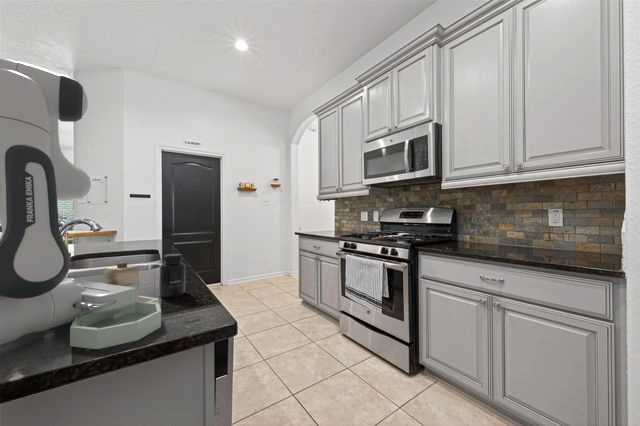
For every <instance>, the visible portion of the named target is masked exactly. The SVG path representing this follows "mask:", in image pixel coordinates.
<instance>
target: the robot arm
mask: <svg viewBox="0 0 640 426" xmlns="http://www.w3.org/2000/svg"><path fill="white" fill-rule="evenodd" d="M87 96H88V95H87V93H86V92H85V89H84V85H82V84H81V83H80V81H78V80H76V79H75V78H73V77H70V76H68V75H65V74H58V73H56V72H53V71H50V70H48V69H46V68H42V67H39V66H37V65H36V66H35V65H33V64H29V63H27V62H22V61H16V60H12V59H8V58H5V57H4V58H3V57H0V225H1V236H0V346H1V345H3V344H6V343H9V342H13V341H15V340H17V339H19V338H20V337H22V336H25V335H28V334H30V333H31V334H32V333H40V332H45V331H46V330H50V329H53V328H56V327H59V326H62V325H65V324H68V323H71V322H72V323H73V321H74V319H75V317H76V316H79V315H81V312H83V311H84V310H85V311H90V312H95V313H101V312H107V311H111V310H115V309H119V308H122V307H126V306H129V305H132V304H134V303H135V302H136V291H138V289H139V290H140V283H139V284H135V283H132V284H128V286H121V285H113V284H106V283H104V282H99V281H91V280H85V279H84V280H83V279H72V278H70V277H69V276H70V275H69V274H68V272H69V271H70V269H71V268H70V267H71V255H70V252H69V249H68V247H67V245H66V244H65V241H64V239H63V237H62V234H61V230H60V224H59V223H60V222H59V210H58V209H59V207H58V201H70V200H77V199H78V200H79V199H83V198H84V197H86V195H88V193H89V192H90V189H91V185H92V184H91V183H92V182H91V179H90V176H89V175H88V173H86V172H85V171H84V170H83V169H82V168H80V167H78V166H76V165H75V164H73V163H72V162H70V161H69V159H68V158H67V157H66V156H65V154H64V153H63V152H62V149H61V145H60V135H59V121H60V122H65V123H66V122H67V123H68V122H69V123H70V122H71V123H72V122H73V123H74V122H75V123H76V122H78V121H80V120H82V119H83V117H84V116H85V113H86V112H87V110H88V107H89V106H88V105H89V102H88V97H87Z"/></svg>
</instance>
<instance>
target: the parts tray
mask: <svg viewBox="0 0 640 426" xmlns="http://www.w3.org/2000/svg"><path fill="white" fill-rule="evenodd" d="M139 302H151V303H159V304H160V299H159V298H157V297H150V296H143V295H139ZM87 312H90V311H85V310H84V311H83V312H81V314H80V315H82V314H85V313H87ZM123 315H124V311H119V312H116V313H109V318H113V319H114V318H117V317H120V316H123Z"/></svg>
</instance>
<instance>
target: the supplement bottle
mask: <svg viewBox="0 0 640 426" xmlns="http://www.w3.org/2000/svg"><path fill="white" fill-rule="evenodd" d="M182 261H183V254H181V253H168V254H164V256H163V263H162V264H161V266H160V267H159V275H158V276H159V280H158V281H159V282H158V283H159V284H158V285H159V286H158V295H159V296H160V297H161V298H165V299H166V298H176V297H180V296H182V295H184V293H185V292H186V264H185V263H183V262H182Z"/></svg>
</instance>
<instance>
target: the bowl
mask: <svg viewBox="0 0 640 426" xmlns="http://www.w3.org/2000/svg"><path fill="white" fill-rule="evenodd" d="M119 311H124V315H123V316H120V317H117V318H114V319H113V318H109V313H116V312H119ZM69 328H70V329H69V346H70V347H75V348H83V349H91V350H92V349H94V350H101V349H104V348H109V347H114V346H118V345H124V344H126V343H127V344H128V343H133V342H137V341H139V340H140V339H143V338H144V337H146V336H147V335H150V334H151V333H153V332H154V331H157V330H159V329H160V328H162V310H161V306H160V302H159V303H151V302H138V301H136V302H135V303H134V304H132V305H129V306H126V307H122V308H119V309H115V310H111V311H107V312H101V313H95V312H87V313H85V314H82V315H81V314H80V315H79V316H76V317H75V319H74V321H72V323H71V325H70V327H69Z"/></svg>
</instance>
